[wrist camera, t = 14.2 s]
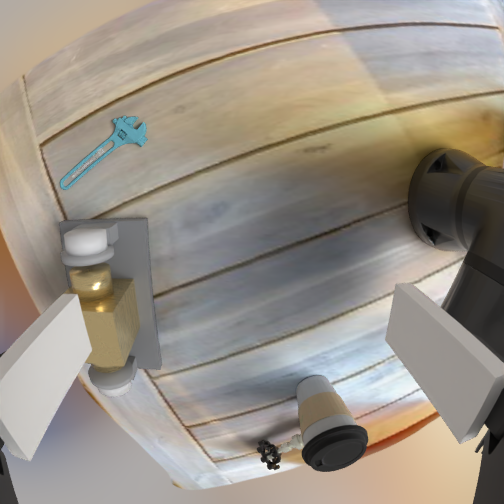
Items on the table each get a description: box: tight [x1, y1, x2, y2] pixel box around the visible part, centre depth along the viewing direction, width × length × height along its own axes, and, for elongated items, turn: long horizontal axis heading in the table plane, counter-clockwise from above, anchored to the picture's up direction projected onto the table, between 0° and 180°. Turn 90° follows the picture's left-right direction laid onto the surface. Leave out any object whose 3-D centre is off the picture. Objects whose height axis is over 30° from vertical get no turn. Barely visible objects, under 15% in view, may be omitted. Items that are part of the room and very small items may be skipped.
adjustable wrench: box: [60, 116, 148, 190], centre depth 34 cm, size 14×1×5 cm
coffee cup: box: [296, 375, 368, 472], centre depth 41 cm, size 9×9×15 cm
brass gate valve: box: [64, 262, 140, 373], centre depth 34 cm, size 8×13×9 cm, turn 179°
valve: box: [257, 434, 304, 470], centre depth 48 cm, size 7×7×12 cm
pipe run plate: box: [59, 218, 162, 397], centre depth 36 cm, size 12×22×9 cm, turn 178°
